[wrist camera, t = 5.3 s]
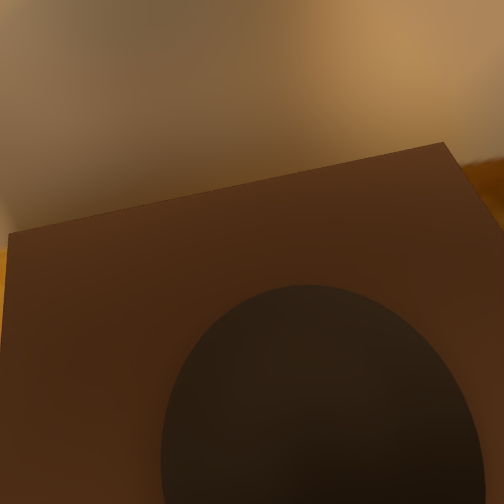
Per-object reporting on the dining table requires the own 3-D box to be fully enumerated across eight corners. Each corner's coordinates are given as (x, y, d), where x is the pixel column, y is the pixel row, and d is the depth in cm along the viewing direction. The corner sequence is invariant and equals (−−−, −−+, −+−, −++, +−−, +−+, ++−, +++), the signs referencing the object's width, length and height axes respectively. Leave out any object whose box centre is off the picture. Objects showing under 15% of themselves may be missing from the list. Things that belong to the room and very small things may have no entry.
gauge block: (336, 440, 13) (937, 839, 2) (219, 476, 12) (-114, 1447, 1) (299, 324, 15) (450, 132, 4) (197, 351, 14) (-3, 226, 3)
